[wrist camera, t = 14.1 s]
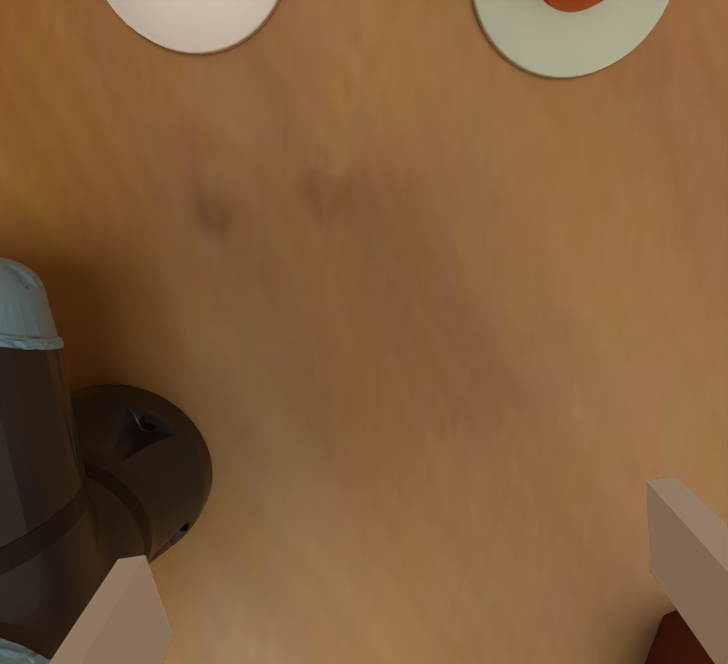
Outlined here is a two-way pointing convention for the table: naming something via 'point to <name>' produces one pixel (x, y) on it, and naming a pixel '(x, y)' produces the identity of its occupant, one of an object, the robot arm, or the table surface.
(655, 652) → the bucket
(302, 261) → the table surface
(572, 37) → the sage dish
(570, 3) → the paper cup
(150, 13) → the white dish
